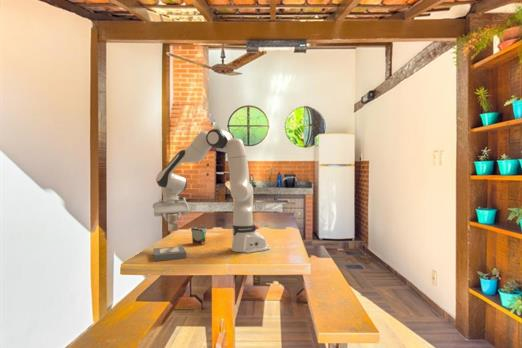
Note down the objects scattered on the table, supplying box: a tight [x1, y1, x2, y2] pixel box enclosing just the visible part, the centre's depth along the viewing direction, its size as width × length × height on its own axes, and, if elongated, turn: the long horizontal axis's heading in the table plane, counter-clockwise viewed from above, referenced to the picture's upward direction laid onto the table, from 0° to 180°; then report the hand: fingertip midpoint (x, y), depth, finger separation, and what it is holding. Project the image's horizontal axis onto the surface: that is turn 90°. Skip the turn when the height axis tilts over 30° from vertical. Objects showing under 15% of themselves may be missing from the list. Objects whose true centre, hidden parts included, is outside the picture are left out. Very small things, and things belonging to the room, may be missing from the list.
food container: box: [190, 226, 208, 246], centre depth 214 cm, size 12×6×10 cm, turn 47°
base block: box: [152, 245, 187, 262], centre depth 184 cm, size 16×16×3 cm
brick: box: [167, 214, 179, 232], centre depth 198 cm, size 5×5×9 cm
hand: (172, 220), depth 197 cm, fingers closed on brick, 5 cm apart
